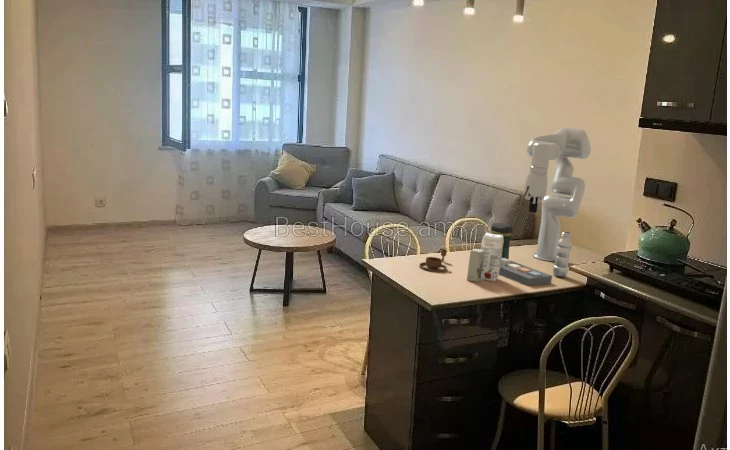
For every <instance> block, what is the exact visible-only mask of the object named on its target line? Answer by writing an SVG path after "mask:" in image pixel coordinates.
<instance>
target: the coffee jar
mask: <svg viewBox="0 0 730 450" xmlns="http://www.w3.org/2000/svg"><path fill="white" fill-rule="evenodd" d="M490 233H491V234H494V235H503V240H504V243H503V251H502V258H506V259H509V260H510V242H511V237H512V235H513V226H511V225H509V224H505V223H501V222H493V223H492V224H491V228H490Z"/></svg>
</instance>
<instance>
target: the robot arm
mask: <svg viewBox="0 0 730 450" xmlns="http://www.w3.org/2000/svg"><path fill="white" fill-rule="evenodd" d="M591 146H592V145H591V142H590V140H589V136H588V134H587V132H586V130H583V129H577V128H571V127H570V128H568V127H563V128H562V127H561V128H559V129H558V130H557V131H555V132H554V133H552V134H546V135H539V136H536V137H534V138H533V139H531V140H530V141H529V142H528V144H527V147H526V152H527V155H528V156H529V157H531V160H530V167H529V173H527V175H526V179H525V182H524V187H523V195H524V196H525V197H524V199H525V200H528V203H529V207H528V212H529V213H533V214H534V213H537V211H538V205H539V204H540V201H541V217H540V218H541V220H540V227H539V231H538V239H537V244H536V245H537V247H536V252H533V253H532V257H533V258H535V259H538V260H541V261H546V262H547V261H548V262H555V261H556V256H557V242H558V241H559V239H560V233H561V227H562V225H561V221H560V219H559V216H560V217H563V218H564V217H565V218H570V219H572V218H573V219H574V218H575V217H577V215H578V213H579V211H580V208H581V203H582V201H583V197H584V194H585V187H586V185H585V180H583V178H581V177H577V176H576V177H574V176H573V173H574V169H575V168H574V165H573V163H572V162H571V160H570V159H569V158H574V159H579V160H586V159H587V158H589V156H590V155H591V149H592V147H591ZM550 160H551V161H554V160H555V168H554V173H553V176H552V179H551V183H550V191H551V193H553V194H547V191H548V172H549V171H548V170H549V165H550Z"/></svg>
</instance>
